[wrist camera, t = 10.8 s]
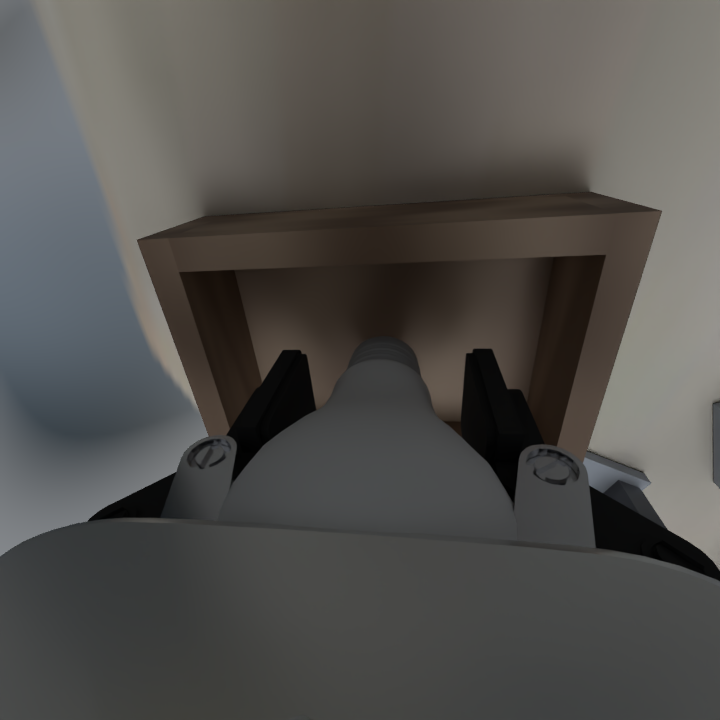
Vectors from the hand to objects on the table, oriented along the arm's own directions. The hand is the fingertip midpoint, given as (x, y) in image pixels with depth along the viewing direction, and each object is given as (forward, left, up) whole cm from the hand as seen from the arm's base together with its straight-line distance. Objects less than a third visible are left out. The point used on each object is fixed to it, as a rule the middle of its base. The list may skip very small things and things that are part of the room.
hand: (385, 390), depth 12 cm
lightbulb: (0, 0, -3) cm, 3 cm away
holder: (0, 0, -4) cm, 4 cm away
